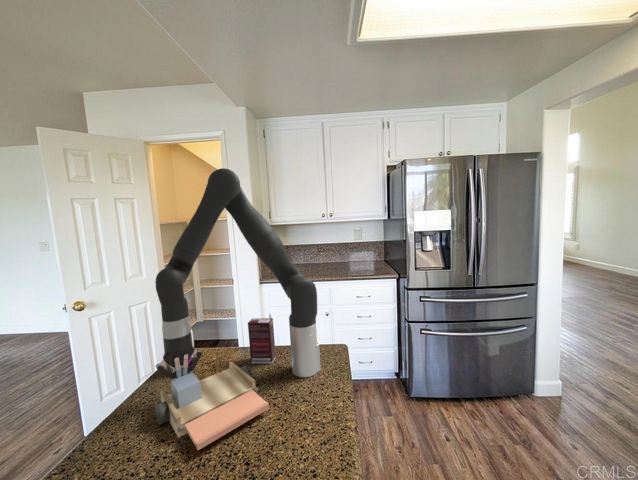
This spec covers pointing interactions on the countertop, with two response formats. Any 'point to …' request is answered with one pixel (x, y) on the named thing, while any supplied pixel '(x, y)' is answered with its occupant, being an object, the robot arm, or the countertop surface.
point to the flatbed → (206, 397)
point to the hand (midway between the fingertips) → (182, 387)
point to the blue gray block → (186, 390)
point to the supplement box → (261, 340)
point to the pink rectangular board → (225, 418)
